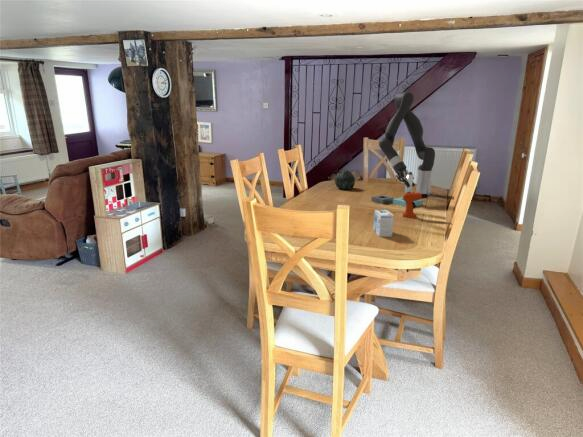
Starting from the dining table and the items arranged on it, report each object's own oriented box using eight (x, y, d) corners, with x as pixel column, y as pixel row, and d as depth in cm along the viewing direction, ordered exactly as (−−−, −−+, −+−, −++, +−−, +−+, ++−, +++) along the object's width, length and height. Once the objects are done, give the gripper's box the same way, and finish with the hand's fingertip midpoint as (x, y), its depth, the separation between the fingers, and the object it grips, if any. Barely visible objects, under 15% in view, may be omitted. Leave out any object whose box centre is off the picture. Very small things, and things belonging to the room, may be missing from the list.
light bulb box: (372, 230, 207) (374, 209, 204) (385, 230, 207) (387, 209, 204) (379, 237, 197) (380, 215, 194) (392, 236, 197) (394, 215, 194)
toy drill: (437, 217, 226) (437, 190, 222) (402, 219, 231) (401, 193, 228) (437, 215, 230) (436, 189, 227) (402, 216, 236) (401, 191, 232)
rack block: (405, 201, 270) (406, 196, 270) (422, 204, 260) (422, 200, 260) (392, 203, 263) (393, 199, 262) (409, 207, 253) (409, 203, 252)
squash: (342, 178, 319) (337, 165, 308) (360, 181, 310) (355, 168, 299) (335, 192, 313) (329, 180, 302) (352, 196, 305) (347, 183, 294)
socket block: (381, 199, 275) (381, 194, 274) (393, 202, 267) (393, 197, 266) (371, 201, 269) (371, 196, 268) (382, 204, 261) (383, 199, 261)
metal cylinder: (407, 195, 263) (409, 174, 259) (412, 197, 260) (414, 175, 256) (403, 196, 261) (405, 174, 257) (408, 197, 258) (410, 175, 254)
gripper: (394, 161, 256) (408, 184, 250) (408, 160, 264) (422, 181, 258) (386, 169, 262) (400, 191, 256) (401, 167, 270) (414, 188, 264)
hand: (411, 186), depth 257 cm, fingers closed on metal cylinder, 4 cm apart
